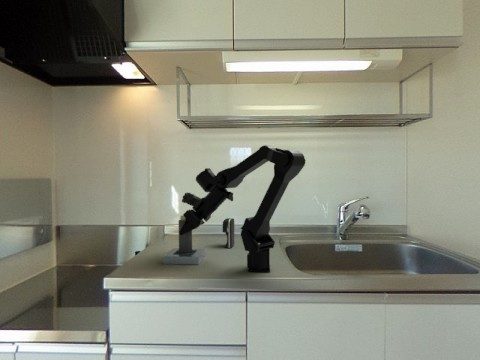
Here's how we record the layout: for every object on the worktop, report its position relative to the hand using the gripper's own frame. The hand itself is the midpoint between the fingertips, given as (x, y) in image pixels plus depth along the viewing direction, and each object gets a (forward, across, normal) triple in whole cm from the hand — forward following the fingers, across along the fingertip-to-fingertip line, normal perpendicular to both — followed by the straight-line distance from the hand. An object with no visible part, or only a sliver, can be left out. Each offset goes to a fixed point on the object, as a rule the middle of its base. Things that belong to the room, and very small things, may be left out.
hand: (181, 233), depth 118 cm
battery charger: (-3, -22, +16) cm, 27 cm away
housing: (+6, 0, +7) cm, 9 cm away
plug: (+4, 0, +6) cm, 7 cm away
